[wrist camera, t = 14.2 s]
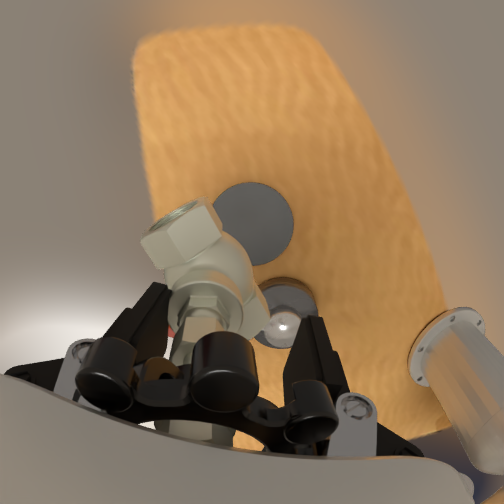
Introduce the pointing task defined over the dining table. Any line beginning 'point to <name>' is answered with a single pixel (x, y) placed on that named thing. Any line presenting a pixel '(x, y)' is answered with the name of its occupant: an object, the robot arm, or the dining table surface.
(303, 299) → the crank housing
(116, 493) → the robot arm
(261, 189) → the mat
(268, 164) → the dining table surface
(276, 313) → the crank
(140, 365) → the valve
